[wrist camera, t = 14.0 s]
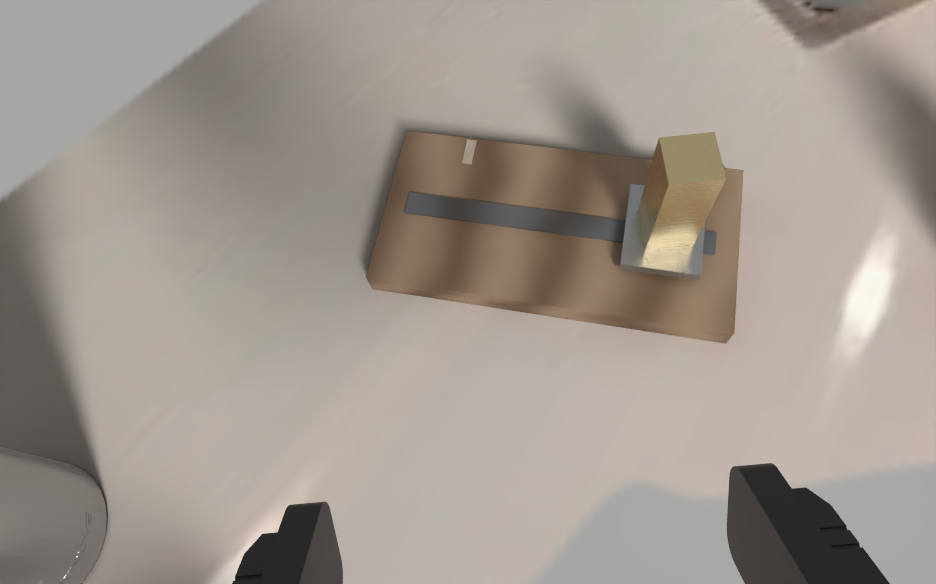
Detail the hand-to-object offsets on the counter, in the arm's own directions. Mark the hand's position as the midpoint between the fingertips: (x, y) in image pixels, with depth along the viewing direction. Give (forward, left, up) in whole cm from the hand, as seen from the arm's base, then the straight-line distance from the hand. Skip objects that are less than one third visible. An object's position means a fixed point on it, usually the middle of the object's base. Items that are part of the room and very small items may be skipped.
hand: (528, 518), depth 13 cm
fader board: (-2, +21, -29) cm, 36 cm away
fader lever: (+5, +21, -26) cm, 34 cm away
